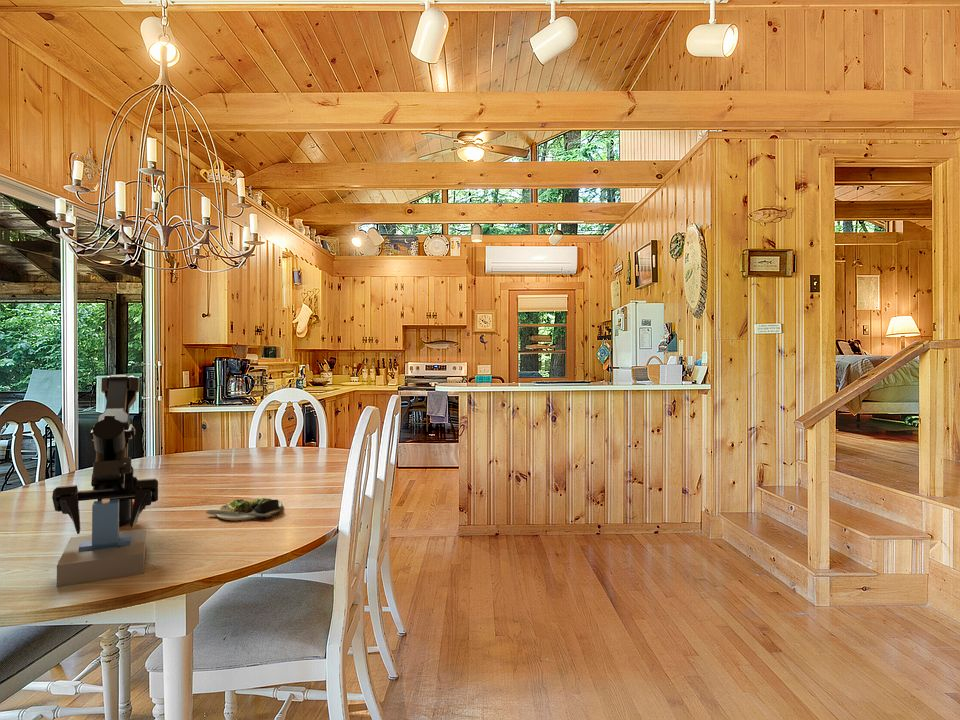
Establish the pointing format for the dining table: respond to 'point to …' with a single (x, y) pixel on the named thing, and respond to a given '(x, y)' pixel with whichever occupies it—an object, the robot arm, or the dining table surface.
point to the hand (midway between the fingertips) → (105, 529)
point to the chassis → (101, 560)
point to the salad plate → (248, 509)
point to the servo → (105, 527)
